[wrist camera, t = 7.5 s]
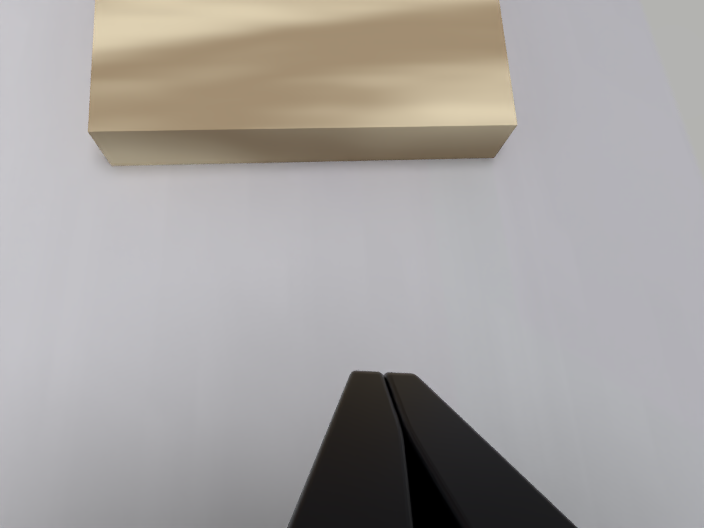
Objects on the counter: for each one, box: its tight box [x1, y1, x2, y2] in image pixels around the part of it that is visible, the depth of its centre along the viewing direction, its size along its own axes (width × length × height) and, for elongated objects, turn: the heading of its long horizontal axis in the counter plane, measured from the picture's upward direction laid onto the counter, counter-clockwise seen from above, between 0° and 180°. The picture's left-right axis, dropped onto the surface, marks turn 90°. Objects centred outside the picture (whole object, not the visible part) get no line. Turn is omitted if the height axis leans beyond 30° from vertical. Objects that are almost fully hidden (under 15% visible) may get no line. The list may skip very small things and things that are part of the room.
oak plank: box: [88, 0, 517, 166], centre depth 23 cm, size 3×14×8 cm
